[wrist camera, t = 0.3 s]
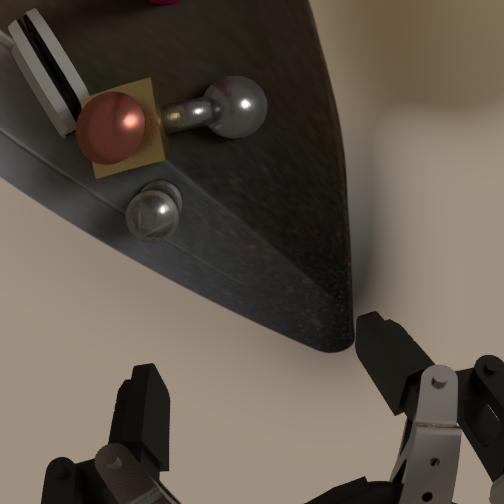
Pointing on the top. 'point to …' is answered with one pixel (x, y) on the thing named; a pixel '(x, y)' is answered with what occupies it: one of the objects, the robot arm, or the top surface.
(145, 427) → the robot arm
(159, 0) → the pepper mill
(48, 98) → the hinge
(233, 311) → the top surface
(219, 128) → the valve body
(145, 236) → the door knob
